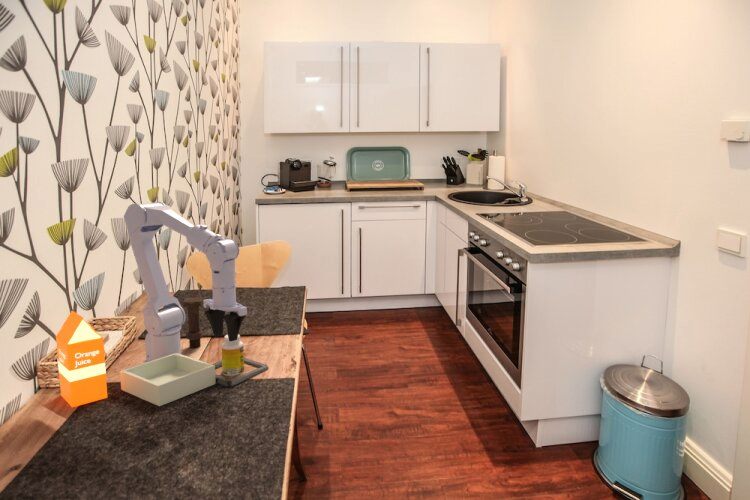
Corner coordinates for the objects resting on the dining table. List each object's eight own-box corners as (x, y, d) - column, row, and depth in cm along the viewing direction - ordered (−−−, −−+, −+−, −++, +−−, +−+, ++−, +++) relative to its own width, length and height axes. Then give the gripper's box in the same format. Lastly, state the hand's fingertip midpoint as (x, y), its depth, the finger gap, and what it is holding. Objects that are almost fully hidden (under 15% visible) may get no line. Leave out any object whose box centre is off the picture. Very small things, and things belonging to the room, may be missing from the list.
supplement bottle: (244, 376, 137) (242, 338, 136) (221, 378, 136) (220, 339, 135) (244, 368, 143) (243, 332, 141) (223, 370, 142) (221, 333, 140)
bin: (121, 389, 129) (119, 370, 128) (177, 370, 141) (176, 352, 141) (159, 406, 120) (158, 386, 119) (215, 383, 133) (214, 365, 132)
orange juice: (95, 386, 131) (89, 307, 128) (108, 397, 124) (102, 314, 121) (60, 395, 125) (52, 313, 122) (71, 407, 119) (63, 321, 116)
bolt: (202, 352, 155) (199, 302, 153) (184, 352, 155) (181, 302, 152) (205, 345, 161) (203, 297, 159) (188, 346, 160) (186, 297, 158)
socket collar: (195, 375, 138) (195, 370, 138) (236, 360, 149) (236, 355, 148) (230, 387, 130) (230, 382, 130) (270, 371, 141) (270, 365, 141)
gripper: (192, 285, 136) (194, 336, 138) (230, 293, 128) (232, 347, 130) (215, 281, 142) (216, 330, 144) (252, 288, 133) (254, 340, 136)
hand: (225, 338), depth 137 cm, fingers open, 5 cm apart
